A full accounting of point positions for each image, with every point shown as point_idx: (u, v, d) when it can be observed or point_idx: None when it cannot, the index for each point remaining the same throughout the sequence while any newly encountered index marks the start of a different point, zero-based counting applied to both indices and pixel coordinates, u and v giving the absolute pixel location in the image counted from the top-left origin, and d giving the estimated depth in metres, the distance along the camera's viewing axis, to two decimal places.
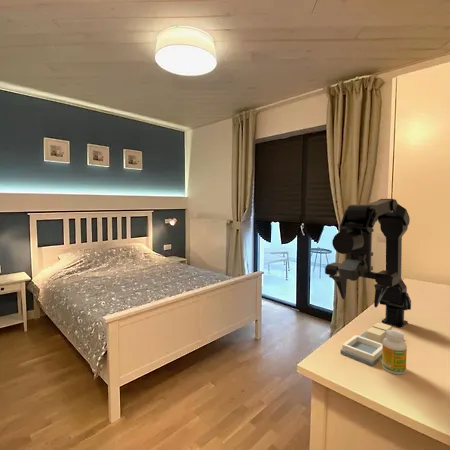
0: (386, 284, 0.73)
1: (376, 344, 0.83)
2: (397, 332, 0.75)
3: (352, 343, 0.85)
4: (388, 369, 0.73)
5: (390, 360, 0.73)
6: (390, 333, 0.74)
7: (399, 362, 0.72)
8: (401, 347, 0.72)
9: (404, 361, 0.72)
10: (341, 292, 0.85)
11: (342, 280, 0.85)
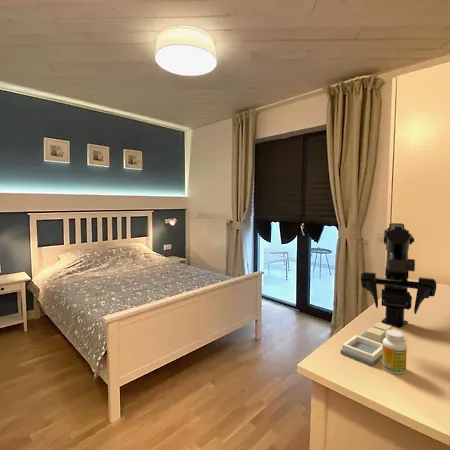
0: (431, 284, 0.78)
1: (376, 344, 0.83)
2: (397, 332, 0.75)
3: (352, 343, 0.85)
4: (388, 369, 0.73)
5: (390, 360, 0.73)
6: (390, 333, 0.74)
7: (399, 362, 0.72)
8: (401, 347, 0.72)
9: (404, 361, 0.72)
10: (376, 299, 0.83)
11: (376, 289, 0.86)
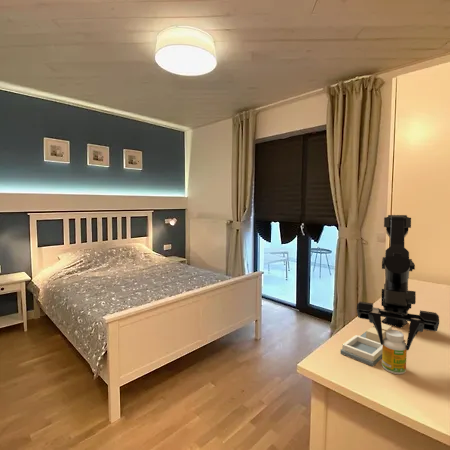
0: (433, 319, 0.71)
1: (376, 344, 0.83)
2: (397, 332, 0.74)
3: (352, 343, 0.85)
4: (388, 369, 0.73)
5: (390, 360, 0.73)
6: (390, 333, 0.74)
7: (399, 362, 0.72)
8: (401, 347, 0.72)
9: (404, 361, 0.72)
10: (380, 334, 0.75)
11: None
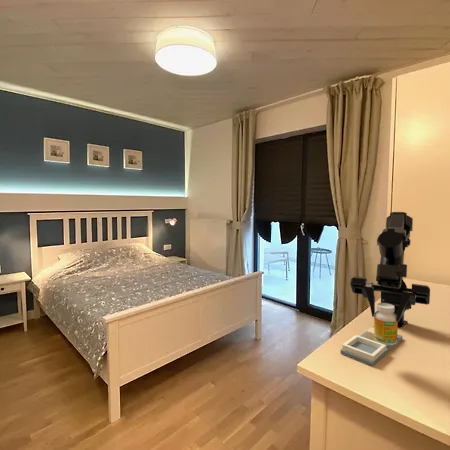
0: (424, 291, 0.72)
1: (376, 344, 0.83)
2: (388, 304, 0.76)
3: (352, 343, 0.85)
4: (379, 340, 0.75)
5: (380, 331, 0.75)
6: (381, 305, 0.75)
7: (390, 333, 0.74)
8: (391, 318, 0.73)
9: (395, 332, 0.74)
10: (372, 307, 0.77)
11: (373, 296, 0.79)
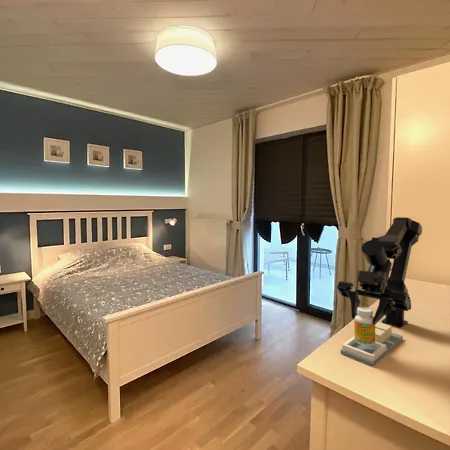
0: (400, 298, 0.76)
1: (376, 344, 0.83)
2: (368, 308, 0.82)
3: (352, 343, 0.85)
4: (357, 340, 0.81)
5: (358, 332, 0.81)
6: (360, 309, 0.82)
7: (366, 335, 0.80)
8: (367, 321, 0.79)
9: (371, 334, 0.80)
10: (353, 309, 0.83)
11: (357, 300, 0.85)
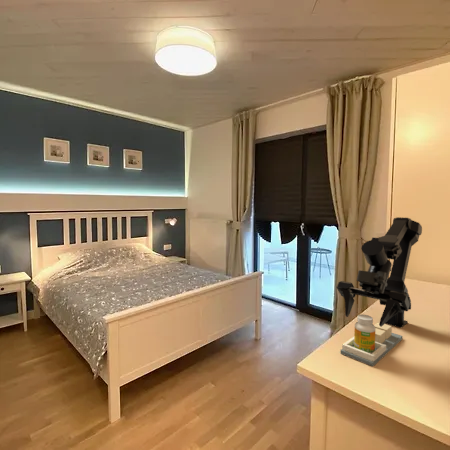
0: (400, 298, 0.76)
1: (376, 344, 0.83)
2: (368, 316, 0.82)
3: (352, 343, 0.85)
4: None
5: (358, 340, 0.81)
6: (360, 317, 0.82)
7: (365, 343, 0.80)
8: (367, 329, 0.79)
9: (371, 342, 0.80)
10: (346, 308, 0.85)
11: (350, 299, 0.87)
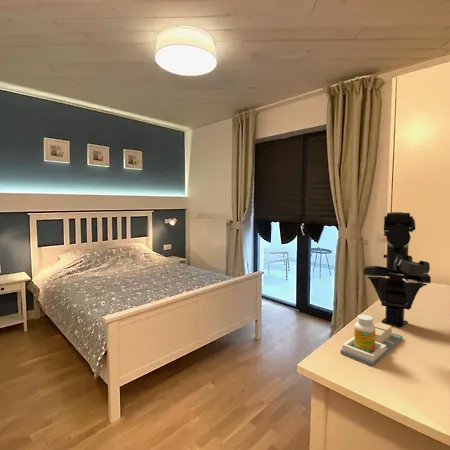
0: (429, 281, 0.85)
1: (376, 344, 0.83)
2: (368, 316, 0.82)
3: (352, 343, 0.85)
4: None
5: (358, 340, 0.81)
6: (360, 317, 0.82)
7: (365, 343, 0.80)
8: (367, 329, 0.79)
9: (371, 343, 0.80)
10: (384, 294, 0.84)
11: None
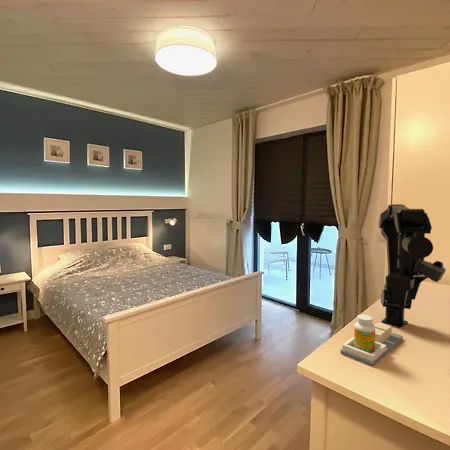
0: None
1: (376, 344, 0.83)
2: (368, 316, 0.82)
3: (352, 343, 0.85)
4: None
5: (357, 340, 0.81)
6: (360, 317, 0.82)
7: (365, 343, 0.80)
8: (367, 329, 0.79)
9: (371, 342, 0.80)
10: (405, 300, 0.82)
11: None
